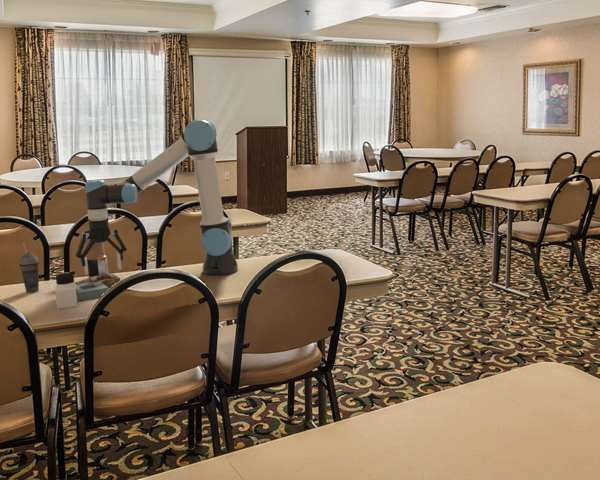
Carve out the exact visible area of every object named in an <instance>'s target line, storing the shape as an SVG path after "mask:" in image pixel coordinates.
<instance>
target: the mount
mask: <svg viewBox="0 0 600 480" xmlns="http://www.w3.org/2000/svg"><path fill="white" fill-rule="evenodd" d="M108 275H109V279H104V280H100V279H99V276H94V277H89V276H88V283H91V282H98V281H99V282H101V283H103V284H104V285H105V286H107V287H108V288H112V287H111V286H112V285H114V284H115V283H117V282H119V281H120V282H121V278H120V277H119V276H117V275H116V274H114V273H108Z"/></svg>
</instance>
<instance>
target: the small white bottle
mask: <svg viewBox="0 0 600 480" xmlns="http://www.w3.org/2000/svg"><path fill="white" fill-rule="evenodd" d="M97 259H98V269H99V279H100V280H104V279H109V275H108V274H109V267H108V265H109V264H108V255H107V254H105V255H100V256H97Z"/></svg>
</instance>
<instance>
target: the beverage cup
mask: <svg viewBox="0 0 600 480" xmlns="http://www.w3.org/2000/svg"><path fill="white" fill-rule="evenodd" d="M25 243H26V242H24V241H23V242H22V244H23V245H22V246H23V248H24V254H22V255H21V256H20V258H19V262H18V265H19V269H20V271H21V275H22V280H23V284H24V287H25V288H24V290H25V292H26V293H27V294H33V293H34V294H35V293H37V292H38V293H39V291H40V290H39V288H40V286H39V285H40V284H39V279H40V277H39V266H40V261H39V258H38V257H37V255H35V254H34V253H31V252H27V247H26V244H25Z"/></svg>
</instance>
